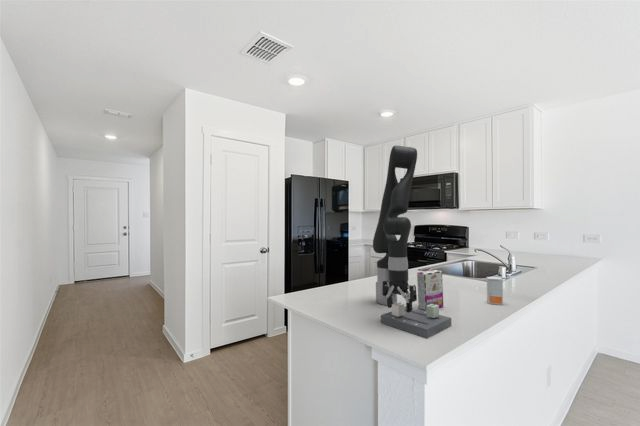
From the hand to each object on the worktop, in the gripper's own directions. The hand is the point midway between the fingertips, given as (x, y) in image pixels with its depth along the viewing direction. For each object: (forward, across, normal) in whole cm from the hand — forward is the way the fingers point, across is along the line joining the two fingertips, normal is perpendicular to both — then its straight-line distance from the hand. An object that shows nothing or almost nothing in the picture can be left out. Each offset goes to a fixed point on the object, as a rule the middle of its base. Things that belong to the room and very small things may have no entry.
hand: (399, 309), depth 118 cm
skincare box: (+6, -15, -54) cm, 56 cm away
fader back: (+2, -10, -8) cm, 12 cm away
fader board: (+6, -5, -4) cm, 8 cm away
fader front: (+2, 0, 0) cm, 2 cm away
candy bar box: (+6, +2, -27) cm, 28 cm away
